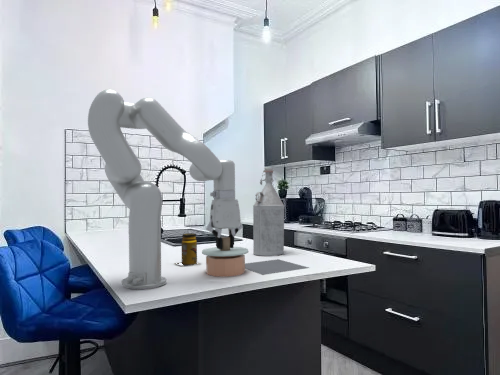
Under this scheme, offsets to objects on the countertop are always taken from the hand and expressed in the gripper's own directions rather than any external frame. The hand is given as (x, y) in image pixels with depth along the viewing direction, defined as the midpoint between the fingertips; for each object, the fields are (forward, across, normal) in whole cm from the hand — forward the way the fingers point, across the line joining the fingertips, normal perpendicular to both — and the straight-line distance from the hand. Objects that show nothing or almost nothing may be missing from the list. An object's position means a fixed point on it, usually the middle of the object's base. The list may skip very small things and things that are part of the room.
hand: (225, 247), depth 123 cm
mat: (+9, +18, -1) cm, 20 cm away
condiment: (+9, -6, +23) cm, 25 cm away
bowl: (+9, 0, 0) cm, 9 cm away
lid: (+2, 0, 0) cm, 2 cm away
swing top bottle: (+9, +33, +24) cm, 42 cm away
